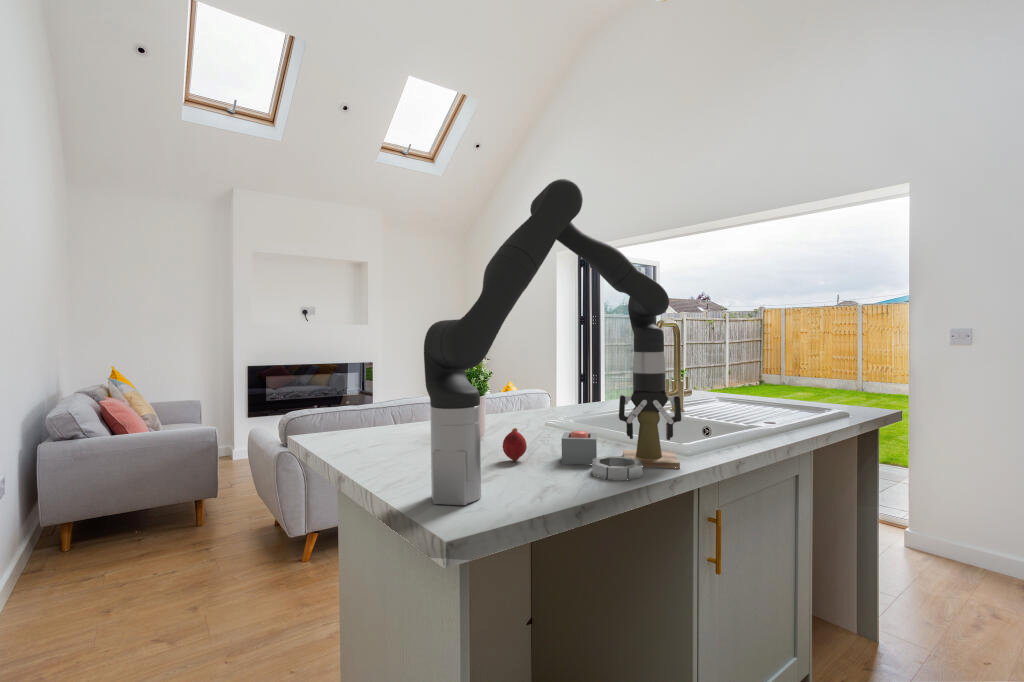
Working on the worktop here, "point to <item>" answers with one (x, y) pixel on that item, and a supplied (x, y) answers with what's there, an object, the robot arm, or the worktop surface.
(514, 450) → the onion
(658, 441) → the cork
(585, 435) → the plunger
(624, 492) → the worktop surface
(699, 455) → the worktop surface
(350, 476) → the worktop surface
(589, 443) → the housing
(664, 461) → the board
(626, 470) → the seat ring
